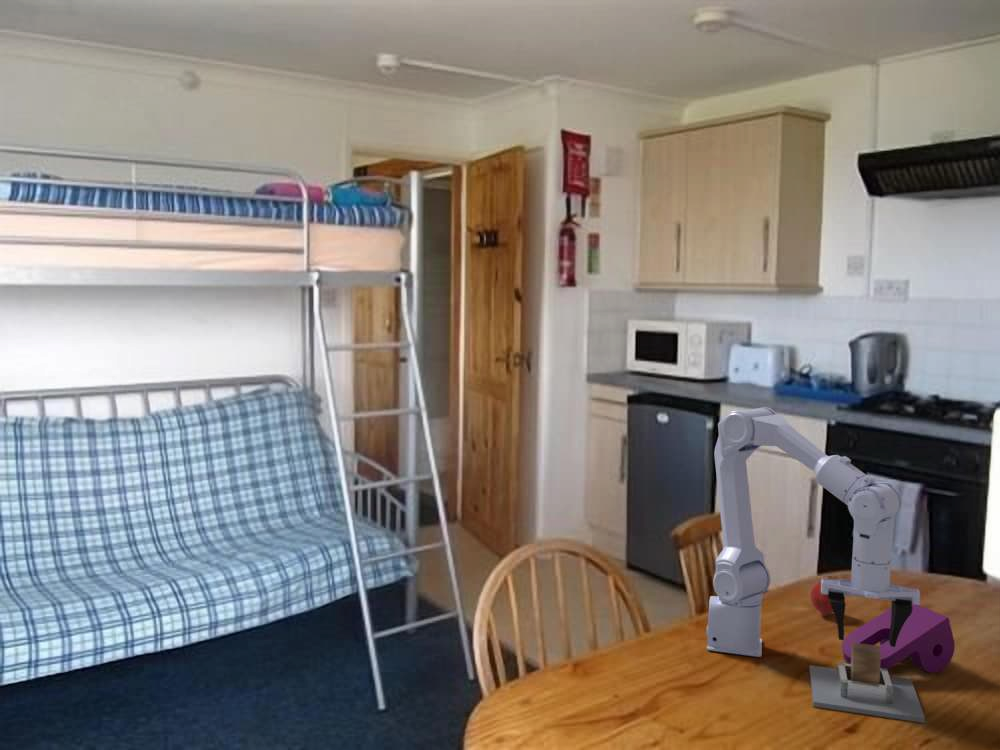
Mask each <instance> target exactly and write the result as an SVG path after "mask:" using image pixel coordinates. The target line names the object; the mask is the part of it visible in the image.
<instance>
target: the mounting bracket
mask: <svg viewBox="0 0 1000 750" xmlns="http://www.w3.org/2000/svg"><path fill="white" fill-rule="evenodd" d="M912 607H913V610H912V613H911V615H910V616H909V617H908V619H907V620H906V621H905V623H904V625H903V627H902V629H901V631H900V633H899V635H898V638H897V641H896V646H895V647H892V646H890V643H889V633H890V626H891V611H892V606H891V607H890V608H888V609H886V611H884V612H882V613H881V614H879V615H877V616H876V617H874V618H873V619H871V620H869V621H868V622H866V623H865V624H863V625H861V626H860V627H859V628H857V629H855V630H854V631H852V632H851V633H849V634H848V635H847V636H845V637H844V640H842V643H841V652H842V654H843V658H844V661H845V663H846V664H851V651H852V642H854V643H861V644H869V645H876V644H878V643H879V644H880V645H878V646H879V650H880V654H881V663H880V668H884V669H887V670H888V669H890V668H892V667H894V666H895V665H897V664H898V663H900V662H902V661H903V660H904V659H906V658H908V657H909V658H910V661H912V663H913V664H914V665H915V666H917V667H918V668H921V669H923V670H924V671H926V672H929V673H939V672H941V671H943V670H944V669H946V667H947V666H948V665H949V664H950V662H951V661H952V659H953V656H954V653H955V647H956V645H955V639H954V634H953V632H952V627H951V623H950V619H949V616H946V615H943V614H941V613H939V612H937V611H934V610H932V609H930V608H927V607H925V606H923V605H920V604H919V605H915V604H912Z"/></svg>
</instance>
